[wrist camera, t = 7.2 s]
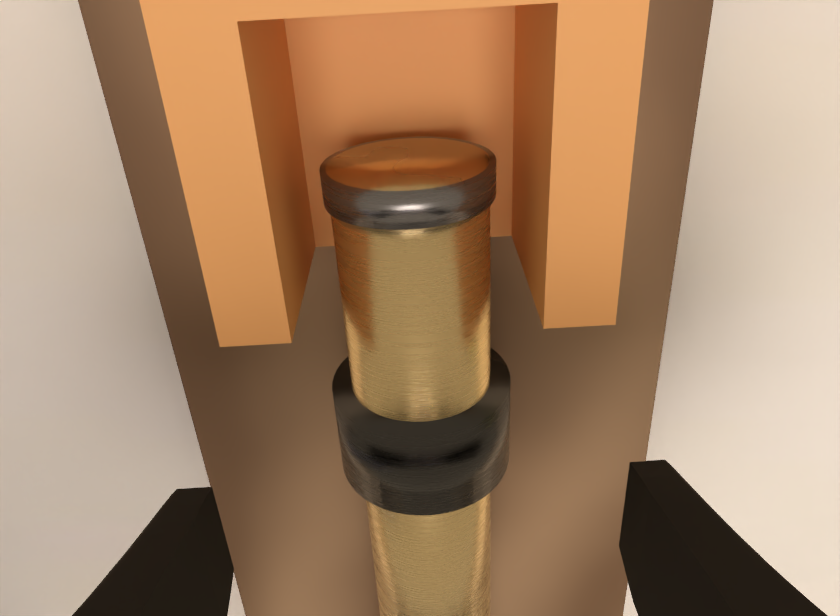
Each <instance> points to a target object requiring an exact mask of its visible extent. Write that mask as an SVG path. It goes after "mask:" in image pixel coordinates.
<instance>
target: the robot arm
mask: <svg viewBox="0 0 840 616" xmlns="http://www.w3.org/2000/svg"><path fill="white" fill-rule="evenodd" d="M619 548H620V552H621V556H622V560H623V564H624V568H625V572H626V576H627V580H628V584H629V587H630V591H631V595H632V598H633V602H634V605H635V608H636V610H637V613H638V616H827V615H826V614H825V613H824V612H822V611H821V610H820V609H819V608H818V607H817V606H815V605H814V604H813V603H812V602H811V601H810V600H808V599H807V598H806V597H805V596H804V595H803V594H802V593H800V592H799V591H798V590H797V589H796V588H795V587H794V586H792V585H791V584H790V583H789V582H788V581H787V580H786V579H785V578H783V577H782V576H781V575H780V574H779V573H778V572H777V571H776V570H775V569H774V568H773V567H772V566H770V565H769V564H768V563H767V562H766V561H765V560H764V559H763V558H762V557H761V556H760V555H759V554H758V553H757V552H756V551H755V550H754V549H753V548H752V547H751V546H749V545H748V544H747V543H746V542H745V541H744V540H743V539H742V538H741V537H740V536H739V535H738V534H737V533H736V532H735V531H734V530H733V529H732V528H731V527H730V526H729V525H728V524H727V523H726V522H725V521H724V520H723V519H722V518H721V517H720V516H719V515H718V514H717V513H716V512H715V511H714V510H713V509H712V508H711V507H710V506H709V505H708V504H707V503H706V502H705V501H704V499H703V498H702V497H701V496H700V495H699V494H698V493H697V492H696V491H695V490H694V489H693V488H692V487H691V486H690V485H689V484H688V483H687V482H686V481H685V480H684V479H683V477H682V476H681V475H680V474H679V473H678V472H677V471H676V470H675V469H674V468H673V467H672V466H671V465H670V464H669V463H668V462H667V461H666V460H656V461H639V462H630V464H629V471H628V479H627V487H626V494H625V502H624V510H623V517H622V525H621V532H620V540H619ZM233 572H234V567H233V563H232V559H231V555H230V552H229V548H228V544H227V541H226V537H225V533H224V530H223V526H222V522H221V518H220V515H219V511H218V507H217V504H216V500H215V496H214V492H213V489H212V487H205V488H188V489H177V490H176V491H175V492H174V493H173V494H172V495H171V496H170V497H169V499H168V500H167V501H166V502H165V504H164V505H163V506H162V507H161V509H160V510H159V511H158V512H157V514H156V515H155V516H154V518H153V519H152V520H151V521H150V523H149V524H148V525H147V527H146V528H145V529H144V530H143V532H142V533H141V534H140V535H139V537H138V538H137V539H136V540H135V542H134V543H133V544H132V545H131V547H130V548H129V549H128V550H127V552H126V553H125V554H124V555H123V557H122V558H121V559H120V560H119V561H118V563H117V564H116V565H115V566H114V567H113V569H112V570H111V571H110V572H109V573H108V575H107V576H106V577H105V578H104V579H103V580H102V582H101V583H100V584H99V585H98V586H97V588H96V589H95V590H94V591H93V592H92V594H91V595H90V596H89V597H88V598H87V599H86V601H85V602H84V603H83V604H82V605H81V606H80V607H79V608H78V609H77V611H76V612H75V613H74V614H73V615H72V616H227V613H228V607H229V600H230V593H231V586H232V579H233Z"/></svg>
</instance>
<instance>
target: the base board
mask: <svg viewBox="0 0 840 616" xmlns="http://www.w3.org/2000/svg"><path fill="white" fill-rule="evenodd" d="M78 2H79V6H80V9H81V13H82V17H83V20H84V24H85V28H86V31H87V35H88V39H89V42H90V46H91V50H92V53H93V57H94V61H95V64H96V68H97V72H98V75H99V79H100V83H101V86H102V90H103V94H104V97H105V101H106V105H107V108H108V112H109V116H110V119H111V123H112V127H113V130H114V134H115V138H116V141H117V145H118V149H119V152H120V156H121V160H122V163H123V167H124V171H125V174H126V178H127V182H128V185H129V189H130V193H131V196H132V200H133V204H134V207H135V211H136V215H137V218H138V222H139V226H140V229H141V233H142V237H143V240H144V244H145V248H146V251H147V255H148V259H149V262H150V266H151V269H152V273H153V277H154V280H155V284H156V288H157V291H158V295H159V299H160V302H161V306H162V310H163V313H164V317H165V321H166V324H167V328H168V332H169V335H170V339H171V343H172V346H173V350H174V354H175V357H176V361H177V365H178V368H179V372H180V376H181V379H182V383H183V387H184V390H185V394H186V398H187V401H188V405H189V409H190V412H191V416H192V420H193V423H194V427H195V431H196V434H197V438H198V442H199V445H200V449H201V453H202V456H203V460H204V464H205V467H206V471H207V475H208V478H209V482H210V486H211V487H212V489H213V492H214V496H215V500H216V504H217V507H218V511H219V515H220V518H221V522H222V526H223V530H224V533H225V537H226V541H227V544H228V548H229V552H230V555H231V559H232V563H233V567H234V574H235V577H236V581H237V585H238V588H239V592H240V596H241V599H242V603H243V607H244V610H245V614H246V616H380V610H379V602H378V594H377V585H376V577H375V569H374V561H373V553H372V545H371V537H370V529H369V520H368V512H367V504H366V500H365V499H364V498H363V497H361V496H360V495H359V494H358V493H357V492H356V491H355V490H354V489H353V488H352V487H351V485H350V484H349V482H348V480H347V478H346V476H345V473H344V469H343V463H342V456H341V449H340V442H339V435H338V428H337V421H336V414H335V407H334V399H333V392H332V382H333V378H334V375H335V372H336V370H337V368H338V367H339V366H340V364H341V363H342V362H343V361H344V360H345V359H346V358H347V357H348V350H347V342H346V333H345V325H344V317H343V309H342V301H341V293H340V285H339V277H338V268H337V260H336V252H335V246H324V247H315V251H314V255H313V259H312V263H311V267H310V271H309V275H308V279H307V283H306V287H305V291H304V295H303V299H302V303H301V307H300V311H299V316H298V320H297V324H296V328H295V332H294V336H293V340H292V343H283V344H266V345H248V346H230V347H220V346H219V342H218V337H217V333H216V329H215V324H214V320H213V316H212V311H211V307H210V303H209V299H208V294H207V290H206V286H205V281H204V277H203V273H202V268H201V264H200V260H199V255H198V251H197V247H196V243H195V238H194V234H193V230H192V225H191V221H190V217H189V212H188V208H187V204H186V200H185V195H184V191H183V187H182V182H181V178H180V174H179V169H178V165H177V161H176V157H175V152H174V148H173V144H172V139H171V135H170V131H169V126H168V122H167V118H166V113H165V109H164V105H163V101H162V96H161V92H160V88H159V83H158V79H157V75H156V70H155V66H154V62H153V58H152V53H151V49H150V45H149V40H148V36H147V32H146V27H145V23H144V19H143V14H142V10H141V6H140V2H139V0H78ZM712 7H713V0H650V2H649V11H648V21H647V30H646V40H645V49H644V59H643V68H642V78H641V87H640V97H639V106H638V116H637V125H636V135H635V144H634V154H633V163H632V173H631V182H630V192H629V201H628V211H627V220H626V230H625V239H624V249H623V258H622V268H621V277H620V287H619V296H618V306H617V315H616V325H601V326H584V327H566V328H548V329H543V326H542V323H541V320H540V317H539V314H538V311H537V309H536V306H535V303H534V300H533V297H532V294H531V291H530V288H529V285H528V282H527V279H526V277H525V274H524V271H523V268H522V265H521V262H520V259H519V256H518V253H517V250H516V248H515V245H514V242H513V239H512V236H500V237H490V347H491V348H492V349H494V350H495V351H496V352H497V353H498V354H499V355H500V356H501V357H502V358H503V359H504V361H505V363H506V364H507V366H508V369H509V372H510V379H511V380H510V437H509V463H508V466H507V470H506V472H505V474H504V476H503V478H502V480H501V481H500V482H499V484H498V485H497V486H496V487H495V488H494V489H493V490H492V491H491V492H490V616H623V610H624V604H625V597H626V590H627V583H628V580H627V576H626V572H625V568H624V564H623V560H622V556H621V552H620V548H619V540H620V532H621V525H622V517H623V510H624V502H625V494H626V487H627V479H628V471H629V464H630V462H639V461H646V454H647V448H648V441H649V434H650V427H651V420H652V414H653V407H654V400H655V393H656V387H657V380H658V373H659V366H660V359H661V353H662V346H663V339H664V332H665V326H666V319H667V312H668V305H669V298H670V292H671V285H672V278H673V271H674V265H675V258H676V251H677V244H678V237H679V231H680V224H681V217H682V210H683V204H684V197H685V190H686V183H687V176H688V170H689V163H690V156H691V149H692V143H693V136H694V129H695V122H696V115H697V109H698V102H699V95H700V88H701V81H702V75H703V68H704V61H705V54H706V48H707V41H708V34H709V27H710V20H711V14H712Z"/></svg>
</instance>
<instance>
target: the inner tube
mask: <svg viewBox="0 0 840 616" xmlns="http://www.w3.org/2000/svg"><path fill="white" fill-rule="evenodd" d="M319 171H320V179H321V187H322V195H323V203H324V207H325V209H326V211H327V212H328V213H329V214H330V215H331V220H332V228H333V236H334V244H335V252H336V260H337V268H338V277H339V285H340V293H341V301H342V309H343V317H344V325H345V333H346V342H347V350H348V357H347V358H346V359H345V360H344V361H343V362H342V363H341V364H340V366H339V367H338V368H337V370H336V372H335V375H334V378H333V382H332V392H333V399H334V407H335V414H336V421H337V428H338V435H339V442H340V449H341V456H342V463H343V469H344V473H345V476H346V478H347V480H348V482H349V484H350V485H351V487H352V488H353V489H354V490H355V491H356V492H357V493H358V494H359V495H360V496H361V497H363V498H364V499H365V500H366V504H367V512H368V520H369V529H370V537H371V545H372V553H373V561H374V569H375V577H376V585H377V594H378V602H379V610H380V616H490V492H491V491H492V490H493V489H494V488H495V487H496V486H497V485H498V484H499V482H500V481H501V480H502V478H503V476H504V474H505V472H506V470H507V466H508V463H509V437H510V380H511V379H510V372H509V369H508V366H507V364H506V363H505V361H504V359H503V358H502V357H501V356H500V355H499V354H498V353H497V352H496V351H495V350H494V349H492V348H491V347H490V205H491V204H492V203H493V202H494V200H495V198H496V156H495V155H494V153H493V152H492V151H491V150H489V149H488V148H486V147H484V146H482V145H479V144H476V143H473V142H470V141H466V140H460V139H454V138H446V137H429V136H416V137H398V138H389V139H382V140H376V141H371V142H366V143H362V144H358V145H354V146H351V147H348V148H345V149H343V150H340V151H338V152H336V153H334V154H332V155H331V156H329V157H328V158H326V159H325V160H324V161H323V162H322V164H321V166H320V170H319Z"/></svg>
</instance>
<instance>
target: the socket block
mask: <svg viewBox="0 0 840 616" xmlns="http://www.w3.org/2000/svg"><path fill="white" fill-rule="evenodd" d="M139 2H140V6H141V10H142V14H143V19H144V23H145V27H146V32H147V36H148V40H149V45H150V49H151V53H152V58H153V62H154V66H155V70H156V75H157V79H158V83H159V88H160V92H161V96H162V101H163V105H164V109H165V113H166V118H167V122H168V126H169V131H170V135H171V139H172V144H173V148H174V152H175V157H176V161H177V165H178V169H179V174H180V178H181V182H182V187H183V191H184V195H185V200H186V204H187V208H188V212H189V217H190V221H191V225H192V230H193V234H194V238H195V243H196V247H197V251H198V255H199V260H200V264H201V268H202V273H203V277H204V281H205V286H206V290H207V294H208V299H209V303H210V307H211V311H212V316H213V320H214V324H215V329H216V333H217V337H218V342H219V346H220V347H230V346H248V345H266V344H283V343H292V340H293V336H294V332H295V328H296V324H297V320H298V316H299V311H300V307H301V303H302V299H303V295H304V291H305V287H306V283H307V279H308V275H309V271H310V267H311V263H312V259H313V255H314V251H315V247H324V246H335V244H334V236H333V228H332V220H331V215H330V214H329V213H328V212H327V211H326V209H325V207H324V203H323V195H322V187H321V179H320V171H319V170H320V166H321V164H322V162H323V161H324V160H325V159H326V158H328V157H329V156H331V155H332V154H334V153H336V152H338V151H340V150H343V149H345V148H348V147H351V146H354V145H358V144H362V143H366V142H371V141H376V140H382V139H389V138H398V137H416V136H429V137H446V138H454V139H460V140H466V141H470V142H473V143H476V144H479V145H482V146H484V147H486V148H488V149H489V150H491V151H492V152H493V153H494V155H495V156H496V198H495V200H494V202H493V203H492V204H491V205H490V237H500V236H512V239H513V242H514V245H515V248H516V250H517V253H518V256H519V259H520V262H521V265H522V268H523V271H524V274H525V277H526V279H527V282H528V285H529V288H530V291H531V294H532V297H533V300H534V303H535V306H536V309H537V311H538V314H539V317H540V320H541V323H542V326H543V329H548V328H566V327H584V326H601V325H616V315H617V306H618V296H619V287H620V277H621V268H622V258H623V249H624V239H625V230H626V220H627V211H628V201H629V192H630V182H631V173H632V163H633V154H634V144H635V135H636V125H637V116H638V106H639V97H640V87H641V78H642V68H643V59H644V49H645V40H646V30H647V21H648V11H649V2H650V0H139Z"/></svg>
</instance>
